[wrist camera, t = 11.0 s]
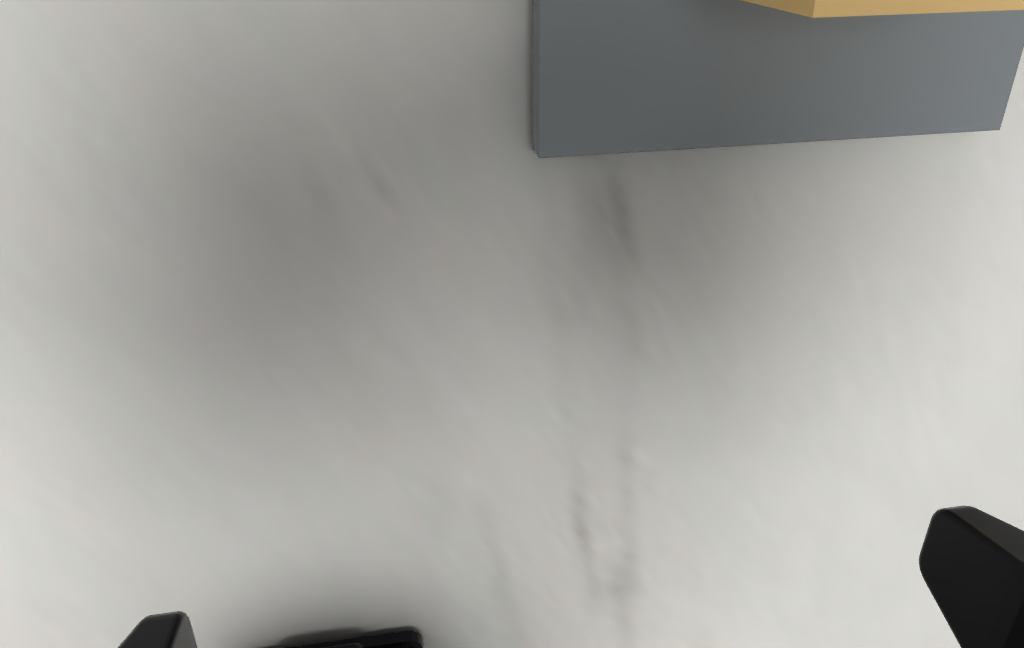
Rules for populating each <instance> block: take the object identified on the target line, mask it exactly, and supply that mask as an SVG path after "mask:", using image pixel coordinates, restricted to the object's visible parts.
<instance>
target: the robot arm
mask: <svg viewBox="0 0 1024 648" xmlns="http://www.w3.org/2000/svg"><path fill="white" fill-rule="evenodd" d="M919 566H920V570H921V573H922V576H923V578H924V580H925V582H926V584H927V586H928V588H929V589H930V591H931V593H932V595H933V597H934V599H935V600H936V602H937V604H938V606H939V608H940V610H941V611H942V613H943V615H944V617H945V619H946V621H947V622H948V624H949V626H950V628H951V630H952V632H953V633H954V635H955V637H956V639H957V641H958V643H959V644H960V646H961V648H1024V531H1023V530H1020V529H1018V528H1016V527H1014V526H1012V525H1010V524H1008V523H1006V522H1004V521H1002V520H1000V519H997V518H995V517H993V516H991V515H989V514H987V513H985V512H983V511H981V510H979V509H976V508H974V507H971V506H958V507H950V508H943V509H939V510H937V511H936V512H935V513H934V514H933V516H932V518H931V521H930V524H929V527H928V530H927V533H926V537H925V540H924V543H923V546H922V549H921V552H920V556H919ZM406 646H409V647H406ZM118 648H197V644H196V641H195V637H194V634H193V630H192V626H191V623H190V620H189V618H188V616H187V615H186V613H184V612H180V611H178V612H170V613H163V614H156V615H150V616H147V617H145V618H144V619H143V620H141V621H140V622H139V624H138V625H137V626H136V627H135V628H134V629H133V631H132V632H131V633H130V634H129V635H128V636H127V638H126V639H125V640H124V641H123V642H122V643H121V645H120V646H119V647H118ZM295 648H423V639H422V637H421V635H420V634H419V633H417V632H414V631H403V632H396V633H389V634H383V635H376V636H369V637H362V638H356V639H349V640H342V641H335V642H328V643H322V644H315V645H308V646H301V647H295Z"/></svg>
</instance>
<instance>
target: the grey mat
mask: <svg viewBox="0 0 1024 648" xmlns="http://www.w3.org/2000/svg"><path fill="white" fill-rule="evenodd" d="M1023 47H1024V10H1003V11H977V12H950V13H924V14H898V15H872V16H845V17H819V18H812V17H807V16H803V15H799V14H795V13H791V12H787V11H783V10H779V9H775V8H771V7H766V6H762V5H758V4H754V3H750V2H746V1H742V0H533V150H534V151H535V153H536V154H537V156H538V157H539V158H548V157H564V156H581V155H597V154H613V153H630V152H646V151H662V150H679V149H695V148H711V147H728V146H744V145H760V144H777V143H793V142H809V141H826V140H842V139H858V138H875V137H891V136H907V135H924V134H940V133H957V132H973V131H989V130H1000V127H1001V123H1002V120H1003V116H1004V113H1005V109H1006V106H1007V102H1008V99H1009V95H1010V92H1011V88H1012V85H1013V81H1014V78H1015V75H1016V71H1017V68H1018V64H1019V61H1020V57H1021V54H1022V50H1023Z"/></svg>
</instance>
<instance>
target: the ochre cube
mask: <svg viewBox="0 0 1024 648" xmlns="http://www.w3.org/2000/svg"><path fill="white" fill-rule="evenodd" d="M742 1H746V2H750V3H754V4H758V5H762V6H766V7H771V8H775V9H779V10H783V11H787V12H791V13H795V14H799V15H803V16H807V17H812V18H819V17H845V16H872V15H898V14H924V13H950V12H977V11H1003V10H1024V0H742Z"/></svg>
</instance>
